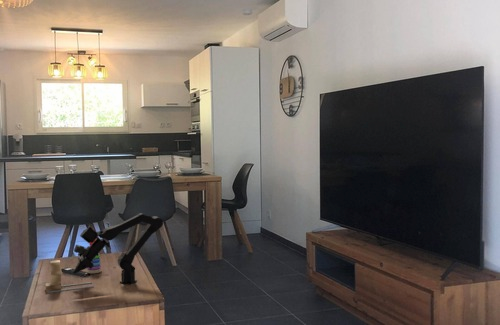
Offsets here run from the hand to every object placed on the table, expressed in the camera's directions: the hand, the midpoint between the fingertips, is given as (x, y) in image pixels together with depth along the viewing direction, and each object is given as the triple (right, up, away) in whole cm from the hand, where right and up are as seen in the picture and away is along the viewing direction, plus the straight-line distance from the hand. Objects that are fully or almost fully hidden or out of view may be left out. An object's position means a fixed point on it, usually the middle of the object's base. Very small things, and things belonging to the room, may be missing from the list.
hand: (73, 273), depth 265 cm
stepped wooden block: (-9, -8, -4) cm, 12 cm away
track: (-2, -8, 0) cm, 8 cm away
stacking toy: (+1, -7, +33) cm, 34 cm away
